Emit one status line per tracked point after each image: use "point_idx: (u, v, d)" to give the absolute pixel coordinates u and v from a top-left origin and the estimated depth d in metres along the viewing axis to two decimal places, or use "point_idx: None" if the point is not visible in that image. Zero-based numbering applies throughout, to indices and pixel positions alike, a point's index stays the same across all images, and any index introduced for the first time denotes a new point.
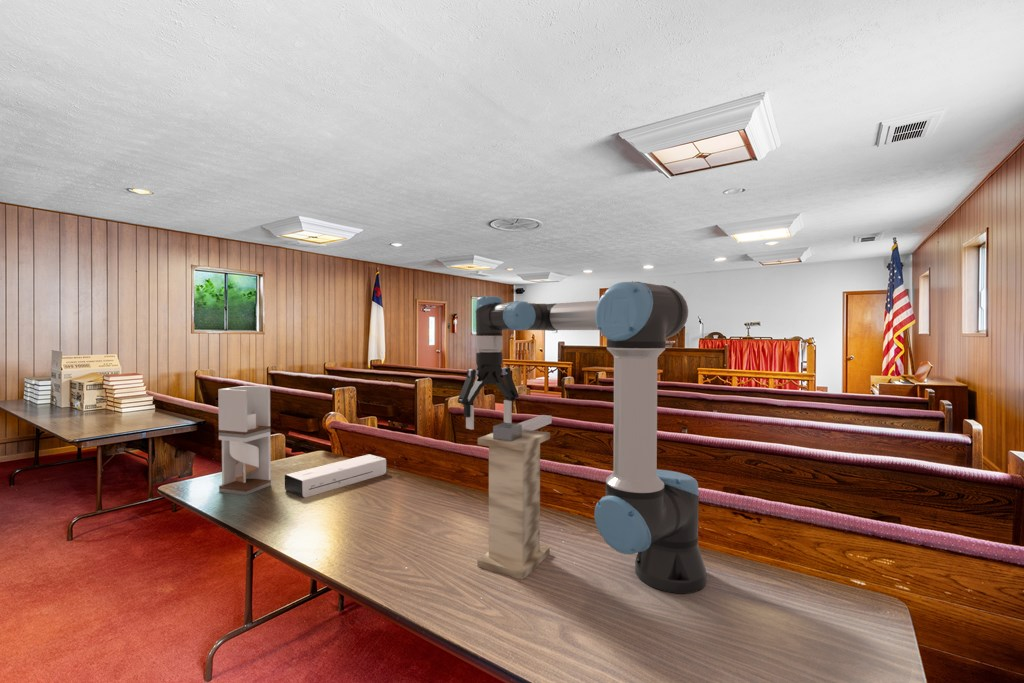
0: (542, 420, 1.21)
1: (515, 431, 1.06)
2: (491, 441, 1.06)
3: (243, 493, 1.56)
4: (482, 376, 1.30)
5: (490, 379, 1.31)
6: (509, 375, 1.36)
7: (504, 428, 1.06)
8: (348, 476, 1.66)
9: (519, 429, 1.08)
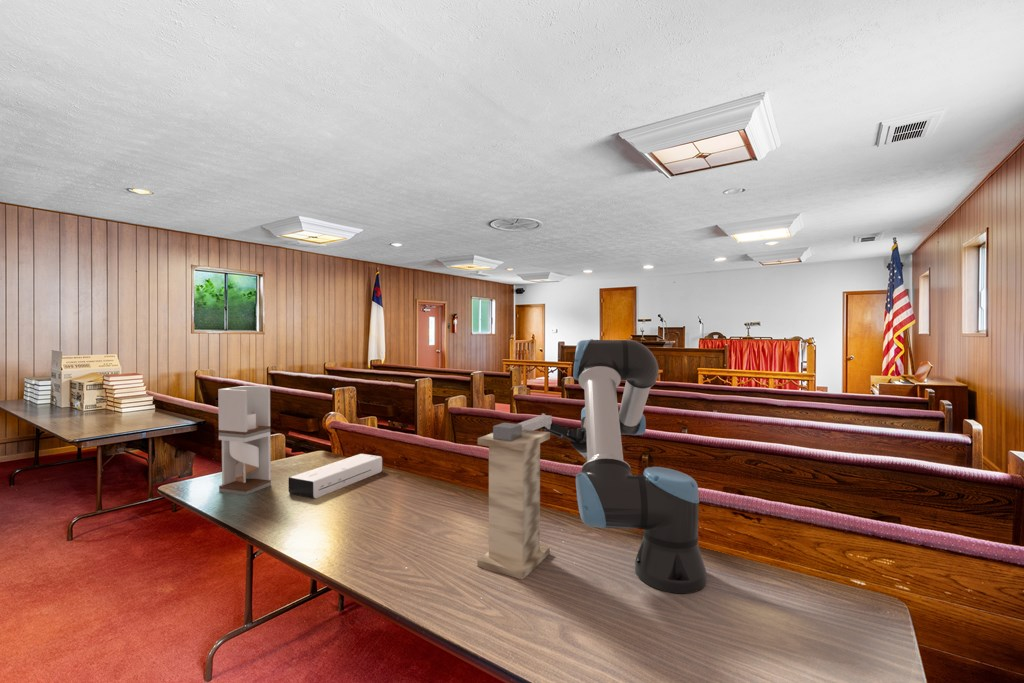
0: (542, 420, 1.21)
1: (515, 431, 1.06)
2: (491, 441, 1.06)
3: (243, 493, 1.56)
4: (568, 431, 1.50)
5: None
6: None
7: (504, 428, 1.06)
8: (351, 475, 1.67)
9: (519, 429, 1.08)
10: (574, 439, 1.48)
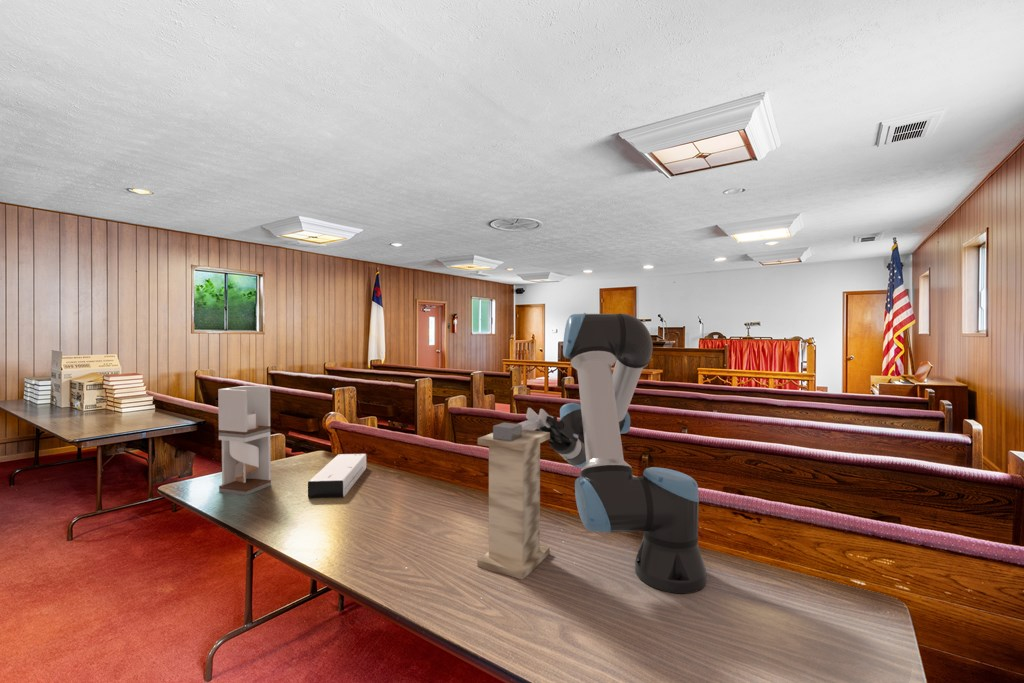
0: None
1: (515, 431, 1.06)
2: (491, 441, 1.06)
3: (243, 493, 1.56)
4: None
5: None
6: None
7: (504, 428, 1.06)
8: (356, 473, 1.70)
9: (519, 429, 1.08)
10: (552, 439, 1.32)
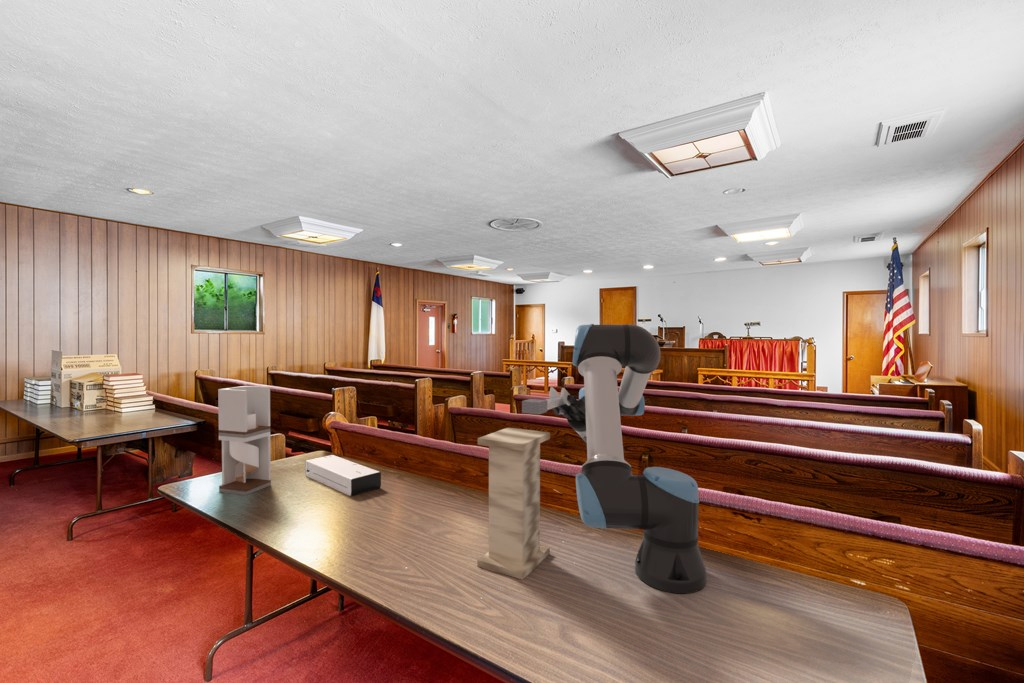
0: None
1: (542, 405, 1.19)
2: (491, 441, 1.06)
3: (243, 493, 1.56)
4: None
5: None
6: None
7: (532, 402, 1.18)
8: None
9: (545, 404, 1.20)
10: (571, 417, 1.45)
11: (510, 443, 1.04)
